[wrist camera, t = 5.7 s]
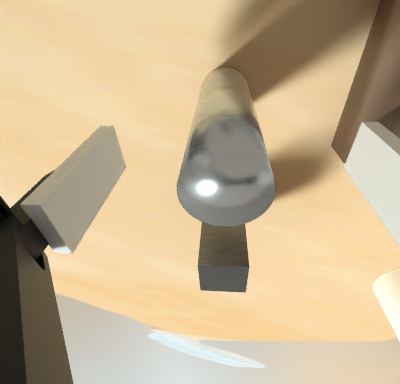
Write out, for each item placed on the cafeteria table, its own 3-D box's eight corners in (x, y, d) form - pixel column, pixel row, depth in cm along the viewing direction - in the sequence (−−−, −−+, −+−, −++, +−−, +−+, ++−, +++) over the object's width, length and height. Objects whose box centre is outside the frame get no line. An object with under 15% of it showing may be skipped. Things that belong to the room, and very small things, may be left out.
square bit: (206, 212, 29) (200, 290, 21) (205, 186, 26) (197, 264, 18) (239, 212, 28) (245, 292, 21) (241, 186, 26) (249, 267, 18)
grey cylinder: (201, 117, 21) (182, 225, 11) (199, 68, 18) (170, 150, 8) (246, 116, 20) (268, 227, 11) (250, 65, 18) (283, 149, 8)
